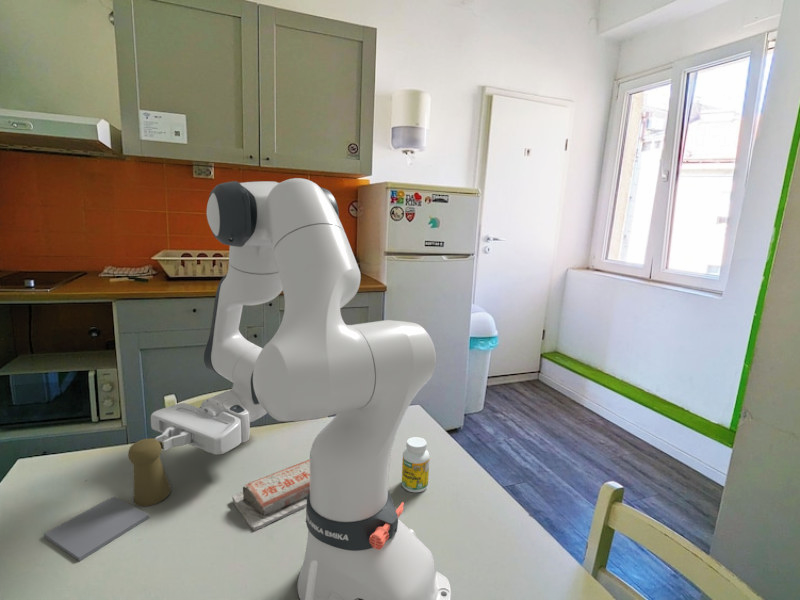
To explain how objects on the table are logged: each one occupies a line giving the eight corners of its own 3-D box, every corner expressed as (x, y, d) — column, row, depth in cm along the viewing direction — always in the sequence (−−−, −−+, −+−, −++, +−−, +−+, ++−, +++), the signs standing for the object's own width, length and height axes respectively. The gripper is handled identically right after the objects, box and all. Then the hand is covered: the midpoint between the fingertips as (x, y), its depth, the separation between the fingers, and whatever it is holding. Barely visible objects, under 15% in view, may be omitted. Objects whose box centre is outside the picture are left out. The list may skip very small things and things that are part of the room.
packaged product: (315, 448, 91) (343, 470, 84) (315, 468, 92) (342, 492, 85) (230, 480, 79) (253, 509, 72) (231, 503, 80) (254, 534, 73)
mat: (149, 517, 75) (149, 514, 75) (79, 561, 65) (79, 557, 65) (114, 498, 79) (114, 495, 79) (44, 537, 70) (43, 533, 70)
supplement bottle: (431, 481, 89) (433, 438, 87) (423, 496, 84) (425, 451, 82) (406, 474, 91) (408, 432, 89) (397, 489, 86) (399, 445, 84)
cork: (127, 497, 80) (117, 445, 77) (160, 479, 85) (152, 430, 82) (143, 511, 77) (133, 457, 74) (177, 491, 81) (169, 440, 78)
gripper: (186, 391, 97) (123, 415, 84) (254, 413, 88) (194, 444, 76) (187, 417, 98) (126, 444, 86) (254, 442, 89) (196, 476, 77)
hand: (158, 444), depth 81 cm, fingers closed
